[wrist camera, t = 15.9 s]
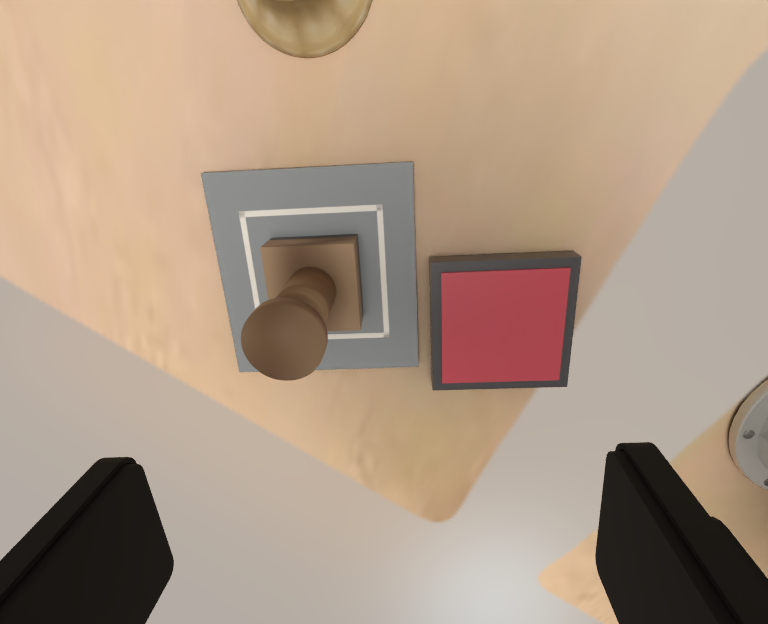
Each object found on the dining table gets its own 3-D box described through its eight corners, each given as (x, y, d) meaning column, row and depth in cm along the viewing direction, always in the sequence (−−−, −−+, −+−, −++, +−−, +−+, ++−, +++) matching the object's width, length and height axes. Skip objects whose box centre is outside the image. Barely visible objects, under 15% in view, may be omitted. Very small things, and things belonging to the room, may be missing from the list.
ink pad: (573, 250, 32) (582, 257, 30) (560, 375, 36) (567, 388, 34) (429, 256, 33) (430, 263, 31) (431, 379, 36) (432, 391, 35)
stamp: (357, 233, 32) (337, 284, 22) (363, 314, 34) (347, 393, 24) (271, 237, 32) (212, 288, 22) (283, 317, 34) (234, 397, 24)
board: (412, 161, 30) (412, 161, 30) (418, 363, 36) (418, 367, 35) (204, 172, 31) (200, 173, 30) (241, 368, 37) (239, 372, 36)
